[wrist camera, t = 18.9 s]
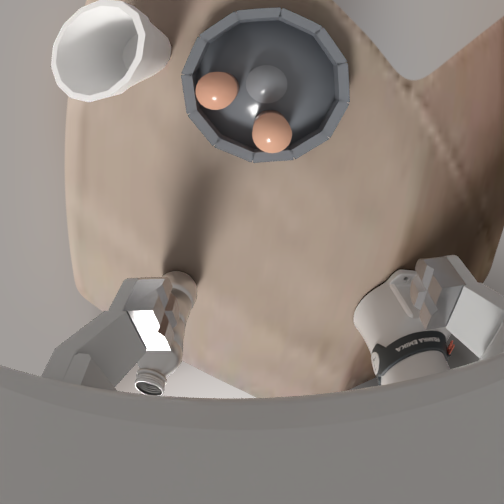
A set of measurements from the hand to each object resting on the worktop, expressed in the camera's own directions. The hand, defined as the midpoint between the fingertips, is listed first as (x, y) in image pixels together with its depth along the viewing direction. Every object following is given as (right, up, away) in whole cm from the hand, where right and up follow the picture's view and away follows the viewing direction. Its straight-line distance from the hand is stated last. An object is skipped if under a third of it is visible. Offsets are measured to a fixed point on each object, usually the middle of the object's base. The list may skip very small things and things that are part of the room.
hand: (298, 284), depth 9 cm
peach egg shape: (-5, +19, +21) cm, 29 cm away
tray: (0, +20, +21) cm, 30 cm away
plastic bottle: (-13, -4, +38) cm, 41 cm away
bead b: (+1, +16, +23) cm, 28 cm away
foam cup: (-14, +25, +19) cm, 34 cm away
